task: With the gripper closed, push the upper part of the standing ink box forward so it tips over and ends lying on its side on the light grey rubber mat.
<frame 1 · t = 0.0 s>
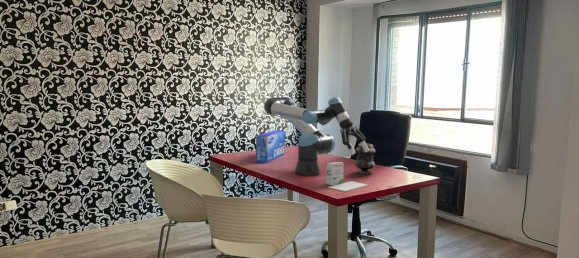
hand: (360, 152, 253), 15 cm above the table, tool tilted 35°, fingers open, 13 cm apart
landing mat: (348, 186, 234), on the table
ink box: (334, 184, 241), on the table
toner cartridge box: (271, 158, 314), on the table
apothecary jar: (364, 173, 270), on the table
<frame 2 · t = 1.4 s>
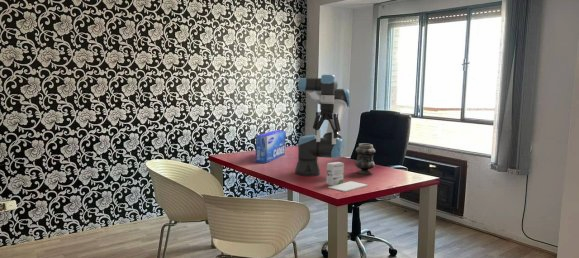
hand: (325, 142, 243), 22 cm above the table, tool pointing down, fingers open, 10 cm apart
nothing on the table moved.
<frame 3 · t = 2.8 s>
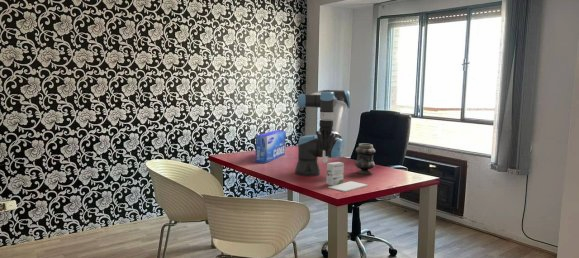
hand: (325, 161, 244), 11 cm above the table, tool pointing down, fingers closed
nothing on the table moved.
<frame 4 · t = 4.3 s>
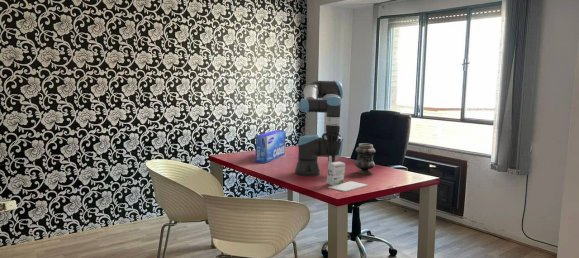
hand: (331, 167, 241), 9 cm above the table, tool pointing down, fingers closed
ink box: (334, 183, 241), on the table, touching gripper
everything else where it was.
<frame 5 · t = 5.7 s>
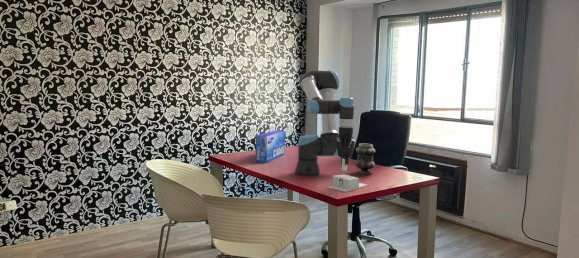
hand: (344, 170, 235), 9 cm above the table, tool pointing down, fingers closed
ink box: (338, 179, 239), point 3 cm above the table, touching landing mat
everything else where it was.
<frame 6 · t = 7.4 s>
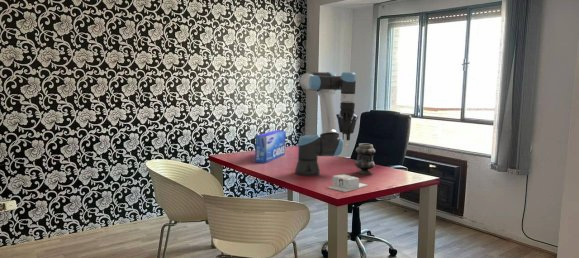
hand: (345, 146, 234), 22 cm above the table, tool pointing down, fingers closed
nothing on the table moved.
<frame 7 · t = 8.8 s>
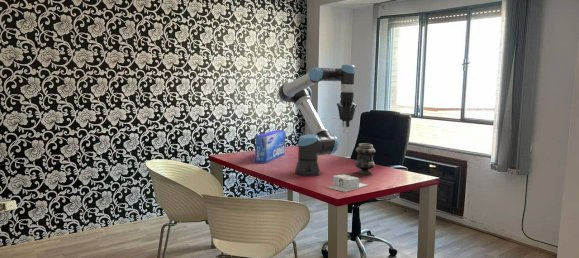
hand: (345, 132, 256), 26 cm above the table, tool pointing down, fingers closed
nothing on the table moved.
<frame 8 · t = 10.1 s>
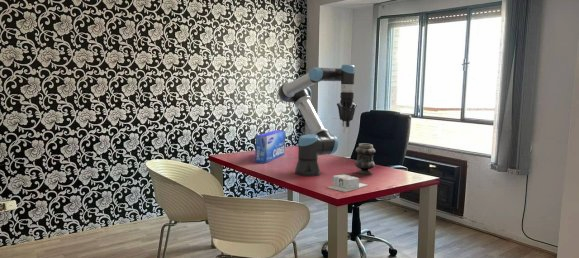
hand: (345, 132, 256), 26 cm above the table, tool pointing down, fingers closed
nothing on the table moved.
at the end: ink box tilted 90°; ink box touching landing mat; ink box inside the target area (5.4 cm from its centre), point 3.1 cm above the table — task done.
